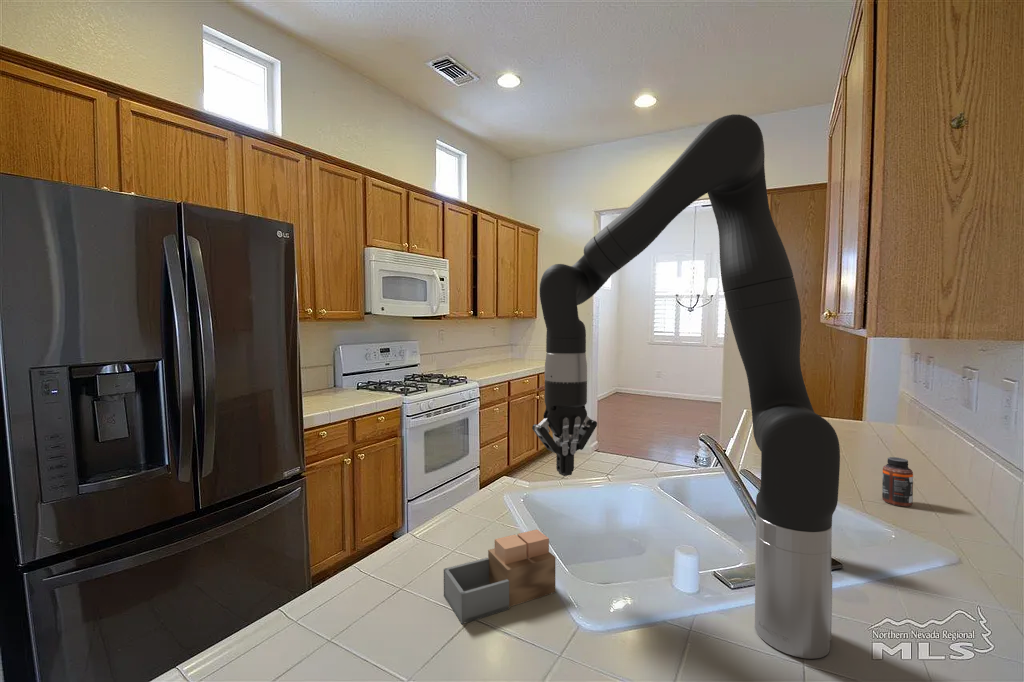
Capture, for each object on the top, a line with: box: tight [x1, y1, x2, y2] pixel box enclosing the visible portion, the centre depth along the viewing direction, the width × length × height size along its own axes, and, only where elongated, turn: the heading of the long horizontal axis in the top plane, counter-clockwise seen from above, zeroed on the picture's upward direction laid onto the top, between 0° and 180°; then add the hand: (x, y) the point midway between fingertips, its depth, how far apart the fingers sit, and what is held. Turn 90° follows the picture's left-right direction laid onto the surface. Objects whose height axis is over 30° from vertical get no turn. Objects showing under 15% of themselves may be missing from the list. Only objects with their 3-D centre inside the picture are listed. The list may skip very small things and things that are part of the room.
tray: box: [443, 557, 510, 625], centre depth 73 cm, size 8×8×4 cm
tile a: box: [516, 528, 550, 558], centre depth 78 cm, size 4×4×2 cm
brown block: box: [487, 547, 556, 608], centre depth 77 cm, size 9×8×6 cm
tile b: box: [494, 534, 527, 564], centre depth 76 cm, size 4×4×2 cm
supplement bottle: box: [881, 456, 914, 507], centre depth 116 cm, size 6×6×11 cm
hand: (565, 474), depth 81 cm, fingers closed
